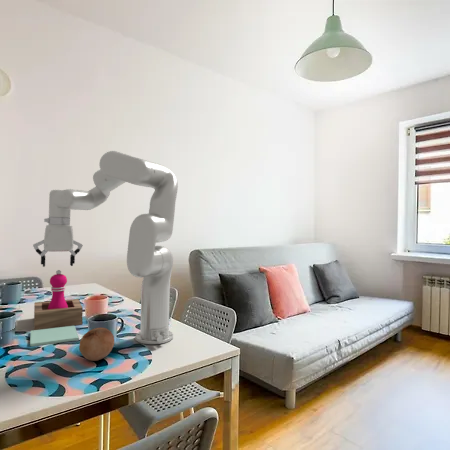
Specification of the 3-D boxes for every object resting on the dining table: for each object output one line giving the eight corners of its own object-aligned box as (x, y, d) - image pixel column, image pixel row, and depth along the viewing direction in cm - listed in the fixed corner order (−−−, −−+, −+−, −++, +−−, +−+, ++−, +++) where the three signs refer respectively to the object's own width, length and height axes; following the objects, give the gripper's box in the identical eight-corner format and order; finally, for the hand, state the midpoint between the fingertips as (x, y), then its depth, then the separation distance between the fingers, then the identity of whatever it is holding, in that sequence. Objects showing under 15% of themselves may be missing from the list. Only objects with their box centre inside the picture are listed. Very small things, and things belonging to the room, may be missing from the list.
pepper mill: (59, 324, 127) (60, 271, 127) (42, 323, 129) (43, 270, 128) (71, 319, 134) (72, 269, 134) (55, 318, 136) (56, 268, 135)
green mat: (78, 339, 112) (78, 337, 112) (30, 346, 105) (30, 344, 105) (74, 327, 124) (74, 325, 124) (30, 333, 117) (30, 330, 117)
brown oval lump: (89, 374, 94) (78, 348, 90) (82, 354, 101) (71, 329, 97) (122, 356, 99) (113, 331, 94) (112, 338, 106) (103, 314, 101)
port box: (82, 324, 128) (82, 307, 128) (33, 330, 121) (34, 312, 120) (77, 313, 142) (78, 298, 142) (34, 318, 135) (34, 302, 134)
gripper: (33, 221, 124) (32, 268, 124) (84, 223, 132) (83, 266, 132) (33, 220, 130) (32, 265, 130) (82, 222, 139) (80, 263, 139)
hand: (57, 265), depth 131 cm, fingers open, 9 cm apart
